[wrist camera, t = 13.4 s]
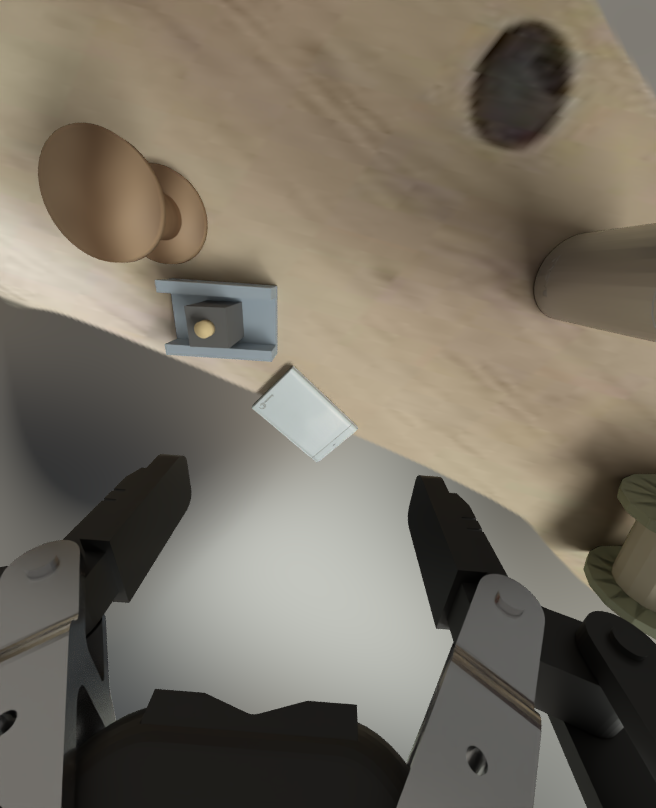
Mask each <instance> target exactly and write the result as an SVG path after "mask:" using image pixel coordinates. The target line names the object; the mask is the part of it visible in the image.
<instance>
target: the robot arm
mask: <svg viewBox="0 0 656 808" xmlns="http://www.w3.org/2000/svg"><path fill="white" fill-rule="evenodd" d="M534 295H535V300H536V303H537V305H538V307H539V309H540V310H541V311H542V312H543V313H544V314H545V315H547V316H548V317H550V318H553V319H556V320H560V321H565V322H569V323H573V324H578V325H582V326H586V327H590V328H595V329H599V330H604V331H608V332H613V333H617V334H622V335H626V336H631V337H635V338H640V339H644V340H648V341H653V342H656V223H653V224H646V225H639V226H632V227H625V228H617V229H610V230H603V231H596V232H590V233H583V234H579V235H576V236H573V237H570V238H569V239H567V240H565V241H564V242H562V243H561V244H559V245H558V246H557V247H556V248H555V249H553V250H552V252H551V253H550V254H549V255H548V256H547V257H546V259H545V260H544V262H543V263H542V265H541V267H540V269H539V271H538V274H537V276H536V280H535V285H534ZM190 500H191V485H190V479H189V472H188V465H187V460H186V457H185V456H180V455H167V454H160V455H158V456H157V457H156V458H155V459H154V460H153V462H152V463H151V464H150V465H149V466H148V467H147V468H140V469H139V470H137V471H135V472H134V473H132V474H130V475H128V476H127V477H125V478H124V479H123V480H122V481H121V482H120V483H119V484H118V485H117V486H116V487H115V489H114V491H111V492H110V493H109V494H108V495H107V496H106V497H105V498H104V501H101V502H100V503H99V504H98V505H97V506H96V507H95V508H94V509H93V510H92V511H91V512H90V513H89V514H88V515H87V516H86V517H85V518H84V519H83V520H82V521H81V522H80V523H79V524H78V525H77V526H76V527H75V528H74V529H73V530H72V531H71V532H70V533H69V534H68V535H67V536H66V537H65V538H64V539H63V540H56V541H51V542H47V543H44V544H42V545H39V546H37V547H35V548H33V549H31V550H29V551H27V552H26V553H24V554H22V555H21V556H19V557H18V558H17V559H15V560H14V561H13V562H12V563H11V564H10V565H9V566H5V567H0V808H533V805H534V796H535V787H536V777H537V768H538V759H539V750H540V740H541V717H540V714H539V713H537V712H536V711H535V710H534V708H536V709H538V710H541V711H543V712H545V713H547V714H548V716H549V719H550V721H551V723H552V726H553V728H554V730H555V733H556V735H557V738H558V740H559V742H560V744H561V747H562V749H563V752H564V754H565V757H566V759H567V761H568V764H569V766H570V768H571V771H572V773H573V775H574V778H575V780H576V783H577V785H578V787H579V790H580V792H581V794H582V797H583V799H584V801H585V804H586V806H587V808H656V644H655V643H654V642H653V641H652V640H651V639H650V638H649V637H648V636H647V635H646V634H645V633H643V632H642V631H641V630H640V629H638V628H637V627H636V626H634V625H633V624H631V623H630V622H628V621H626V620H624V619H623V618H621V617H619V616H616V615H614V614H611V613H608V612H603V611H595V612H591V613H589V614H588V616H587V617H586V618H585V620H584V621H583V622H581V621H579V620H576V619H573V618H570V617H568V616H565V615H562V614H560V613H557V612H554V611H552V610H549V609H547V608H544V607H542V606H541V605H540V603H539V602H538V600H537V599H536V598H535V596H534V595H533V594H532V593H531V592H530V591H529V590H528V589H527V588H526V587H524V586H523V585H521V584H520V583H519V582H517V581H515V580H514V579H511V578H509V577H508V576H507V574H506V572H505V570H504V569H503V567H502V565H501V563H500V561H499V559H498V558H497V556H496V554H495V552H494V550H493V548H492V547H491V545H490V543H489V541H488V540H487V537H486V536H485V534H484V532H482V528H481V526H480V525H479V523H478V521H476V518H475V516H474V514H473V512H472V510H471V508H470V506H469V505H468V504H467V503H466V502H465V501H464V500H463V499H462V498H461V497H460V496H459V495H458V494H457V493H449V491H448V489H447V487H446V485H445V483H444V481H443V479H442V478H441V477H434V476H421V475H419V476H417V478H416V481H415V485H414V489H413V493H412V497H411V501H410V505H409V511H408V525H409V530H410V533H411V537H412V541H413V545H414V548H415V552H416V556H417V560H418V563H419V567H420V571H421V574H422V578H423V582H424V586H425V589H426V593H427V596H428V600H429V604H430V607H431V611H432V615H433V619H434V622H435V626H436V629H449V630H450V631H451V634H452V638H453V641H454V642H453V644H452V647H451V649H450V652H449V655H448V657H447V660H446V662H445V665H444V668H443V670H442V673H441V675H440V678H439V681H438V683H437V686H436V688H435V691H434V694H433V697H432V699H431V701H430V704H429V707H428V709H427V712H426V714H425V717H424V720H423V722H422V725H421V727H420V729H419V732H418V735H417V737H416V740H415V742H414V744H413V747H412V749H411V752H410V755H409V757H408V760H407V762H406V763H405V761H404V760H403V759H402V758H401V756H400V755H399V754H398V753H397V752H396V751H395V750H394V749H393V748H392V746H391V745H390V744H389V743H387V742H386V741H385V740H384V739H383V738H382V737H381V736H379V735H378V734H377V733H375V732H374V731H372V730H371V729H369V728H368V727H366V726H364V725H362V724H360V723H358V722H357V705H353V704H341V703H327V702H315V701H305V702H301V703H298V704H294V705H290V706H286V707H283V708H279V709H275V710H271V711H268V712H264V713H260V714H255V715H254V714H248V713H246V712H244V711H242V710H239V709H237V708H235V707H233V706H231V705H229V704H227V703H225V702H223V701H221V700H219V699H216V698H214V697H212V696H210V695H208V694H206V693H199V692H187V691H174V690H161V689H155V690H154V693H153V695H152V698H151V699H150V702H149V704H148V706H147V708H144V709H141V710H138V711H136V712H133V713H131V714H128V715H126V716H124V717H122V718H120V719H119V720H117V721H116V719H115V713H114V707H113V703H112V699H111V693H110V683H109V664H108V646H107V627H106V616H105V614H104V613H105V612H106V610H107V609H108V607H109V606H110V604H111V603H112V601H113V602H125V603H129V602H130V601H131V599H132V597H133V596H134V594H135V593H136V591H137V589H138V588H139V586H140V584H141V583H142V581H143V580H144V578H145V576H146V575H147V573H148V572H149V570H150V568H151V567H152V565H153V564H154V562H155V560H156V559H157V557H158V555H159V554H160V552H161V551H162V549H163V547H164V546H165V544H166V543H167V541H168V539H169V538H170V536H171V535H172V533H173V531H174V529H175V528H176V527H177V525H178V523H179V522H180V520H181V518H182V517H183V515H184V514H185V512H186V510H187V508H188V506H189V503H190Z"/></svg>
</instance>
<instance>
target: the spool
mask: <svg viewBox="0 0 656 808" xmlns="http://www.w3.org/2000/svg"><path fill="white" fill-rule="evenodd" d="M617 498H618V499H619V501H620V503H621V504H622V506H623V507H624V509H625V510H626V512H628V513H629V514H630V515H631V516H632V517H634V518H635V519H636V521H635V523H634V525H633V527H632V529H631V531H630V533H629V535H628V537H627V538H626V540H625V542H624V544H623V546H599V547H597V548H595V549H594V550H592V551H590V552H589V554H588V556H587V558H586V562H585V566H584V572H585V575H586V577H587V580H588V583H589V585H590V587H591V588H592V589H593V590H594V592H595V593H596V594H597V595H598V596H599V598H600V599H601V600H602V601H603V603H604V604H605V605H606V606H607V607H609V608H610V609H611V610H612V611H614V612H615V613H616V614H617V615H619V616H620V617H621V618H623V619H624V620H626V621H628V622H630V623H631V624H633V625H634V626H636V627H637V628H638V629H640V630H641V631H642V632H644V633H645V634H647V635H649V636H651V637H652V638H654V639H656V474H633V475H631V476H629V477H626V478H624V479H623V480H622V482H621V484H620V486H619V490H618V495H617Z"/></svg>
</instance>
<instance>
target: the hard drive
mask: <svg viewBox="0 0 656 808" xmlns="http://www.w3.org/2000/svg"><path fill="white" fill-rule="evenodd" d="M252 409H254V410H255V411H256V412H257V413H258V414H259V415H261V416H262V417H263V418H264V419H265V420H267V421H268V422H269V423H270V424H271V425H272V426H274V427H275V428H276V429H277V430H278V431H279V432H281V433H282V434H283V435H284V436H285V437H287V438H288V439H289V440H290V441H291V442H292V443H294V444H295V445H296V446H297V447H298V448H300V449H301V450H302V451H303V452H304V453H306V454H307V455H308V456H309V457H310V458H312V459H313V460H314V461H315V462H319V461H320V460H321V459H322V458H324V457H325V456H326V455H327V454H329V453H330V452H331V451H332V450H333V449H335V448H336V447H337V446H338V445H340V444H341V443H342V442H343V441H344V440H346V439H347V438H348V437H349V436H351V435H352V434H353V433H354V432H355V431H356V430H357V429H358V427H357V425H356V424H355V423H353V422H352V421H351V420H350V419H349V418H348V417H347V416H346V415H345V414H344V413H343V412H342V411H341V410H340V409H339V408H338V407H337V406H336V405H335V404H334V403H332V402H331V401H330V400H329V399H328V398H327V397H326V396H325V395H324V394H323V393H322V392H321V391H320V390H319V389H318V388H317V387H316V386H315V385H313V384H312V383H311V382H310V381H309V380H308V379H307V378H306V377H305V376H304V375H303V374H302V373H301V372H300V371H299V370H298V369H297V368H295V367H294V366H292V367H291V368H290V369H289V370H288V371H287V372H286V373H285V374H284V375H283V376H282V377H281V378H280V379H279V380H278V381H277V382H276V383H275V384H274V385H273V386H272V387H271V388H270V389H269V390H268V391H267V392H266V393H265V394H264V395H262V396H261V397H260V398H259V399H258V400H257V401H256V402H255V403H254V404H253V406H252Z"/></svg>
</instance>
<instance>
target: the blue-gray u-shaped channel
mask: <svg viewBox="0 0 656 808" xmlns="http://www.w3.org/2000/svg"><path fill="white" fill-rule="evenodd" d="M155 284H156V291H157V292H160V293H171V297H172V304H173V312H174V319H175V326H176V333H177V339H175V340H173V341H171V342H168V343H166V344H165V349H166V355H180V356H195V357H210V358H225V359H240V360H255V361H270V362H272V360H273V359H274V357H275V356H276V355H277V286H274V285H260V284H246V283H232V282H218V281H204V280H189V279H175V278H171V279H162V280H155ZM206 300H213V301H234V302H242V310H243V325H244V337H243V338H242V339H241V340H239V341H238V342H237V343H235V344H234V345H233V346H232V347H230V348H208V347H190V344H189V337H188V330H187V323H186V316H185V309H184V306H186V305H190V304H194V303H198V302H202V301H206Z"/></svg>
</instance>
